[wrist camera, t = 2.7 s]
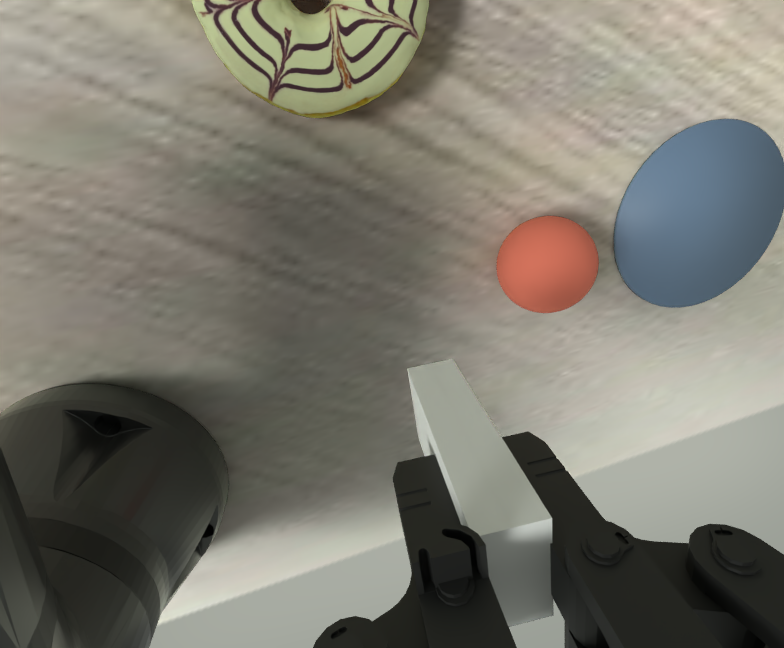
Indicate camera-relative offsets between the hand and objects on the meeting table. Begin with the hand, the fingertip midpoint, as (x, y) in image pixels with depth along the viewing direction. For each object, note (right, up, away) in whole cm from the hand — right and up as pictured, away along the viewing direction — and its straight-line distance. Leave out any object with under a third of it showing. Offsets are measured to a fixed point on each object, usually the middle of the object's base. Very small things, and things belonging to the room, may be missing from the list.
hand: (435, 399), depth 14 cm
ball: (+7, +6, +11) cm, 14 cm away
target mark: (+19, +9, +14) cm, 25 cm away
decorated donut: (-5, +19, +7) cm, 21 cm away
